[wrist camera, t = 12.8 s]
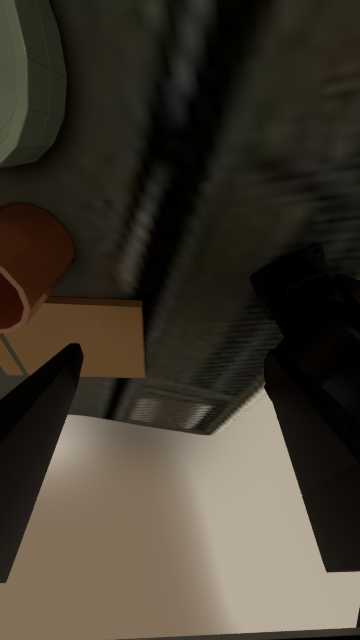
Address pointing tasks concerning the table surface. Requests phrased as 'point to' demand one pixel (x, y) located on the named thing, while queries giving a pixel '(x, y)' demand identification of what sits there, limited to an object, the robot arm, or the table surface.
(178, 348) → the table surface
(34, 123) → the bowl
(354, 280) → the robot arm
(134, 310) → the notebook
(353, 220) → the table surface
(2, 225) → the cup
